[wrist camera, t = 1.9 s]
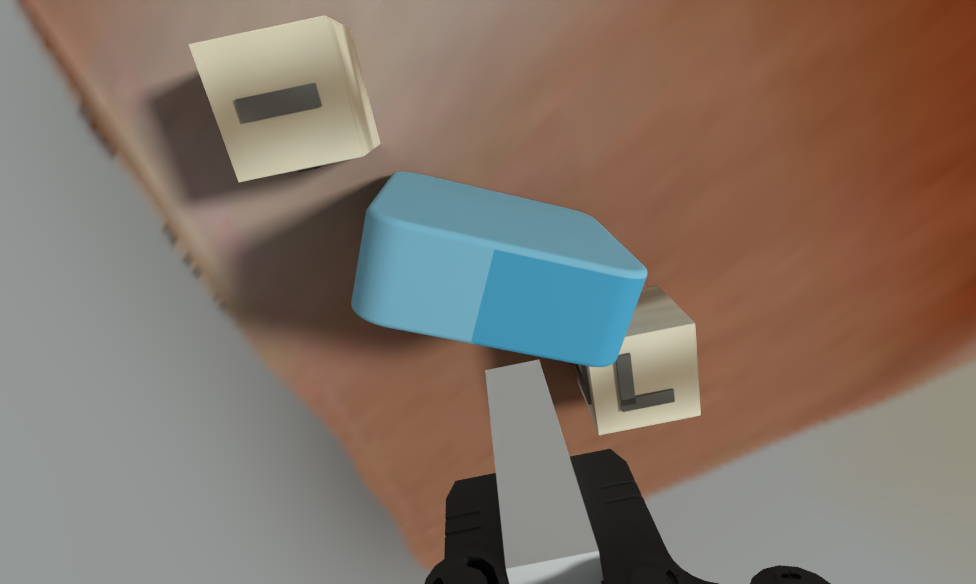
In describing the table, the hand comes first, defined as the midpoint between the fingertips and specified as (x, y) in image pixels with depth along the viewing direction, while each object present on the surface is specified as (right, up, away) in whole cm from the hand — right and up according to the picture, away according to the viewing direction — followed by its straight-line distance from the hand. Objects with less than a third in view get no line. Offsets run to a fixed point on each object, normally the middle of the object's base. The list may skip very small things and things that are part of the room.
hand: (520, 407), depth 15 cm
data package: (-1, +7, +18) cm, 19 cm away
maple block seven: (+8, 0, +21) cm, 22 cm away
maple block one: (-11, +14, +15) cm, 23 cm away
